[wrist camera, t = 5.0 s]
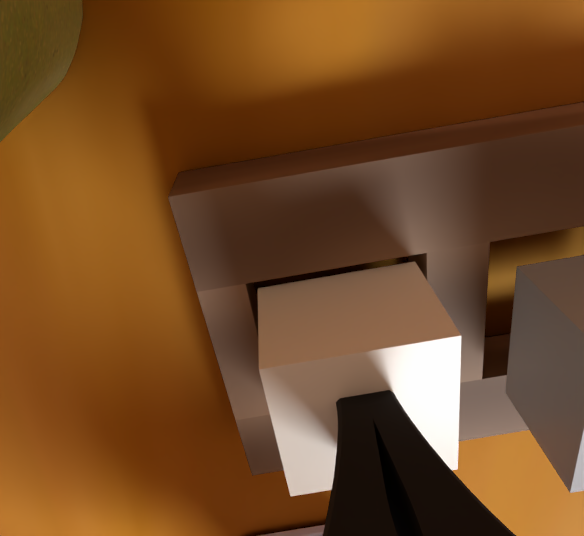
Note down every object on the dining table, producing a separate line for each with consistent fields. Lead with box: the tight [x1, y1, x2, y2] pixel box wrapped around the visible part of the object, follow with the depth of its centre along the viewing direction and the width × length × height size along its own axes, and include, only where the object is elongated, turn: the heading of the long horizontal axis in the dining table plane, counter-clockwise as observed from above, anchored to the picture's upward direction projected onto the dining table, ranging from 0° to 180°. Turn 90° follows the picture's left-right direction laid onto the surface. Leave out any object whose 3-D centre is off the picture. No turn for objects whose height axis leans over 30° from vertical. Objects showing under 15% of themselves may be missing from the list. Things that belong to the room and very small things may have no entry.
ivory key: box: [258, 261, 461, 496], centre depth 13 cm, size 5×5×4 cm
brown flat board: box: [168, 102, 584, 475], centre depth 15 cm, size 11×22×2 cm, turn 99°
